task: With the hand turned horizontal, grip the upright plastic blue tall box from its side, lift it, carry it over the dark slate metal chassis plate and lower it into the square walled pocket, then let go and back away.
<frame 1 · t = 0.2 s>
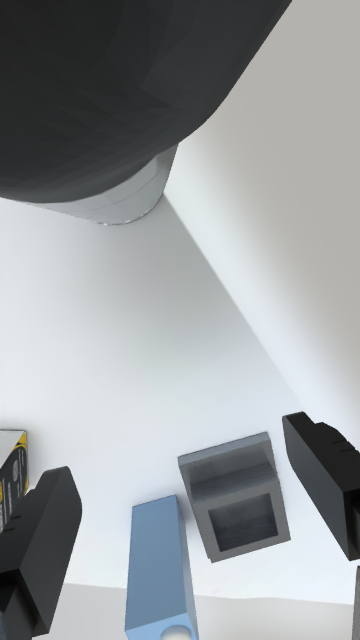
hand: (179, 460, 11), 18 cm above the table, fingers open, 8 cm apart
blue tall box: (159, 515, 34), on the table
chassis: (234, 493, 34), on the table
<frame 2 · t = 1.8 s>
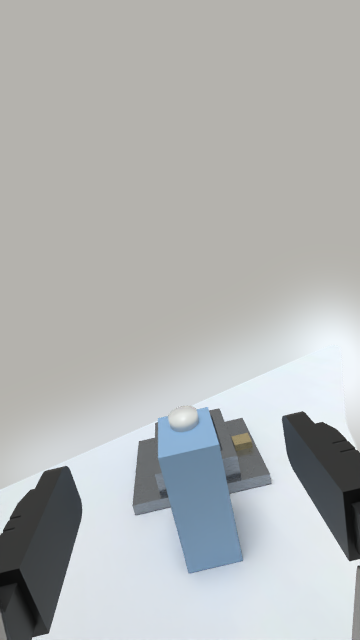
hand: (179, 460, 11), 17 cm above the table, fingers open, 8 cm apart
blue tall box: (210, 537, 26), on the table
chassis: (197, 464, 35), on the table
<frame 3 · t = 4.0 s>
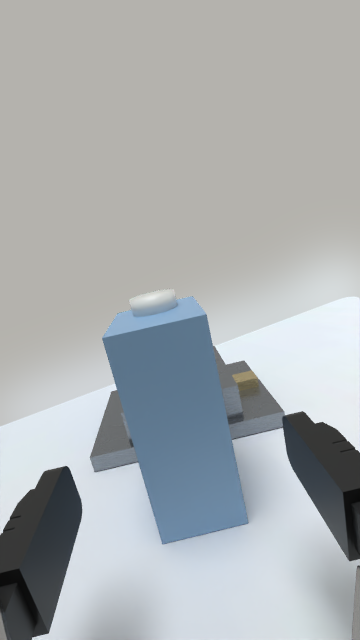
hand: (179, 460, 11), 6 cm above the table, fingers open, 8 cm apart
blue tall box: (198, 493, 17), on the table
chassis: (184, 411, 26), on the table
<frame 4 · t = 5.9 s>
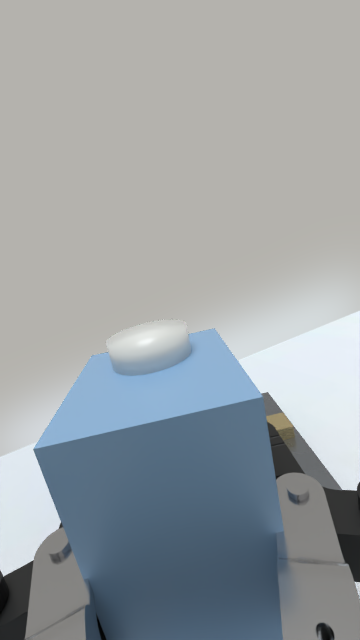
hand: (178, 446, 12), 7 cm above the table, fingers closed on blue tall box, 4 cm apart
chassis: (193, 468, 19), on the table
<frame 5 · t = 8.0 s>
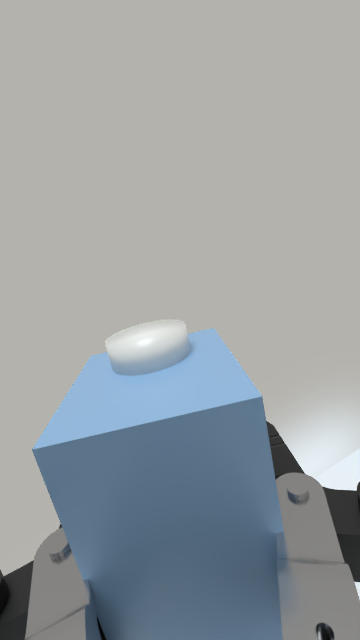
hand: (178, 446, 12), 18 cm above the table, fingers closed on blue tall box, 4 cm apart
when the fingers open (9 cm above the table, at t = 10.4 s): blue tall box drops 1 cm, resting on chassis.
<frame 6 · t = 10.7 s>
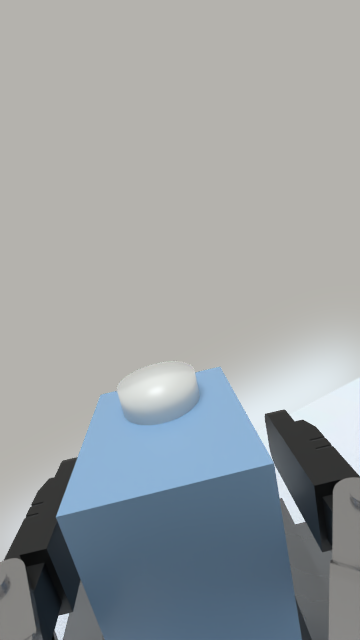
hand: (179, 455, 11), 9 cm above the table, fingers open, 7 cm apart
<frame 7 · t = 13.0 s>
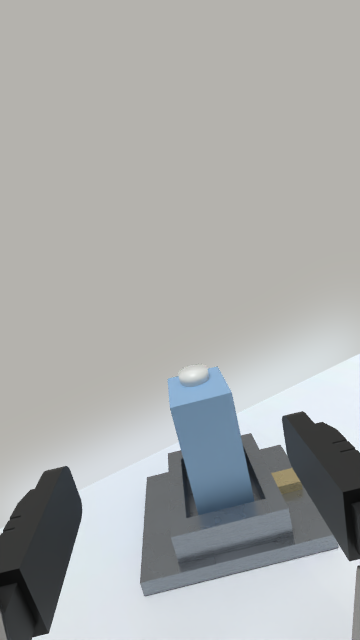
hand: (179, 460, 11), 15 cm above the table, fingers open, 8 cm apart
blue tall box: (223, 500, 25), point 1 cm above the table, touching chassis
chassis: (226, 511, 26), on the table
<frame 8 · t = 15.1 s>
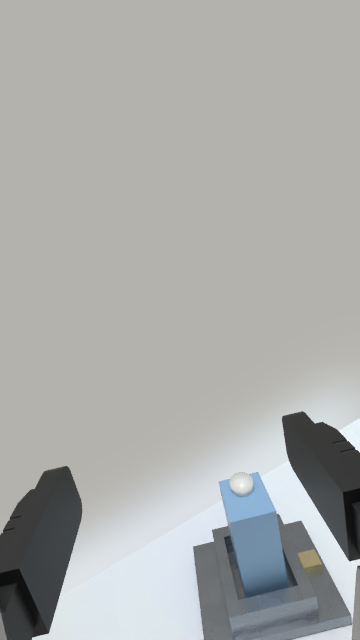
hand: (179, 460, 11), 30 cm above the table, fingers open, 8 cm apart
blue tall box: (260, 576, 33), point 1 cm above the table, touching chassis
chassis: (262, 583, 33), on the table
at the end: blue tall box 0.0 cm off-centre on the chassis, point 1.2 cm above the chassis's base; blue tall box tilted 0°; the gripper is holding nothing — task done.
